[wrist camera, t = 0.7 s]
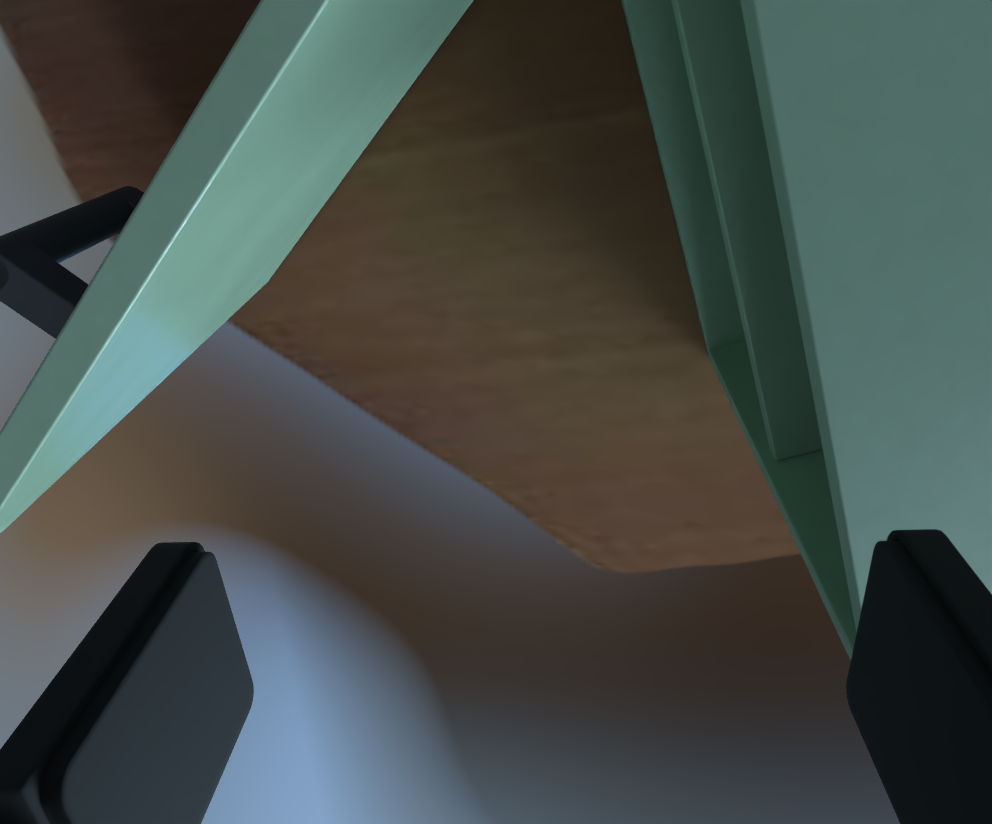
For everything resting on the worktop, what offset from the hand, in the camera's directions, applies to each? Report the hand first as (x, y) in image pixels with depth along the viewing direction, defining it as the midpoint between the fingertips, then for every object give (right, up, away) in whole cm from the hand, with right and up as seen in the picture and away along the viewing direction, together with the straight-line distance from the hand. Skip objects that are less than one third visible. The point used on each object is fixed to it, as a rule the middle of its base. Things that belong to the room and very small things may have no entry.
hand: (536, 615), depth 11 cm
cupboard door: (-8, +21, +27) cm, 35 cm away
